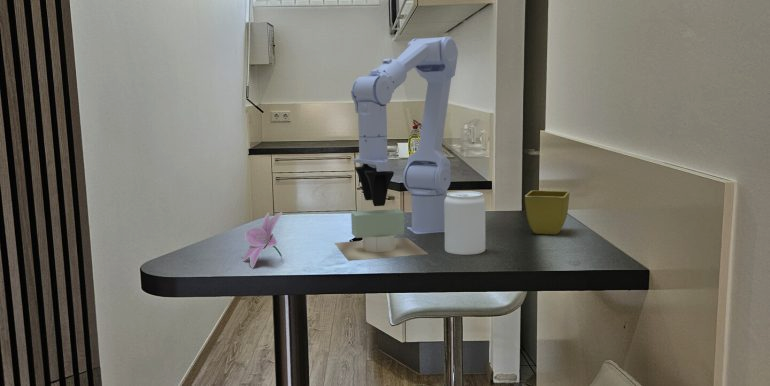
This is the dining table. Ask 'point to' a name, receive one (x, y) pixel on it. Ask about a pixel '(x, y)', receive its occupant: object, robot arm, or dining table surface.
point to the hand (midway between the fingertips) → (374, 202)
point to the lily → (261, 238)
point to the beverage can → (464, 222)
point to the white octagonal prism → (379, 243)
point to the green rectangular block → (377, 223)
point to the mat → (358, 253)
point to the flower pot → (546, 210)
